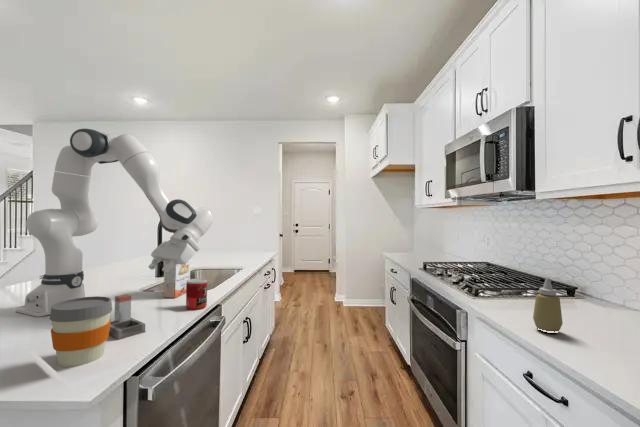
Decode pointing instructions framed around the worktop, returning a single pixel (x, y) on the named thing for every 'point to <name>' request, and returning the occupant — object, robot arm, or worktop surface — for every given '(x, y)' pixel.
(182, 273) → the cracker box
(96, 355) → the reusable coffee cup
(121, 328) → the square open tray
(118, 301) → the steel peg
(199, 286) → the canned food
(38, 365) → the worktop surface
